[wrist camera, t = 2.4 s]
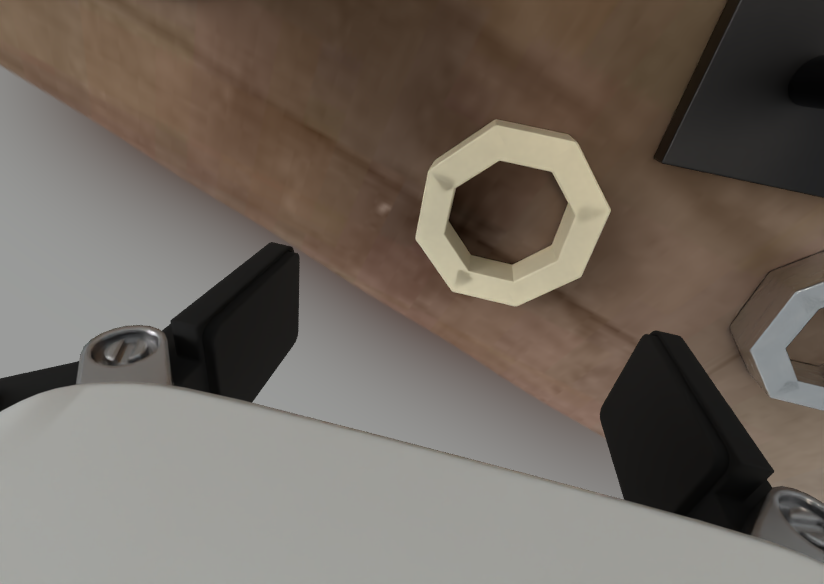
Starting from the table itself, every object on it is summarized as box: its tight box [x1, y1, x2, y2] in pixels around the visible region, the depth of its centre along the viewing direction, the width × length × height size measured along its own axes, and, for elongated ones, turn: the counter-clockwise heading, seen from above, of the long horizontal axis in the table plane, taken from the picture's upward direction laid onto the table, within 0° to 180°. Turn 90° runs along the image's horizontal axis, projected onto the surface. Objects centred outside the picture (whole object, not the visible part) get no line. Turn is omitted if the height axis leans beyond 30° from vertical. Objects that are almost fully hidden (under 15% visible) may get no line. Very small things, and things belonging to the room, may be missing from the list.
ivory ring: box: [415, 119, 611, 307], centre depth 23 cm, size 10×10×2 cm
